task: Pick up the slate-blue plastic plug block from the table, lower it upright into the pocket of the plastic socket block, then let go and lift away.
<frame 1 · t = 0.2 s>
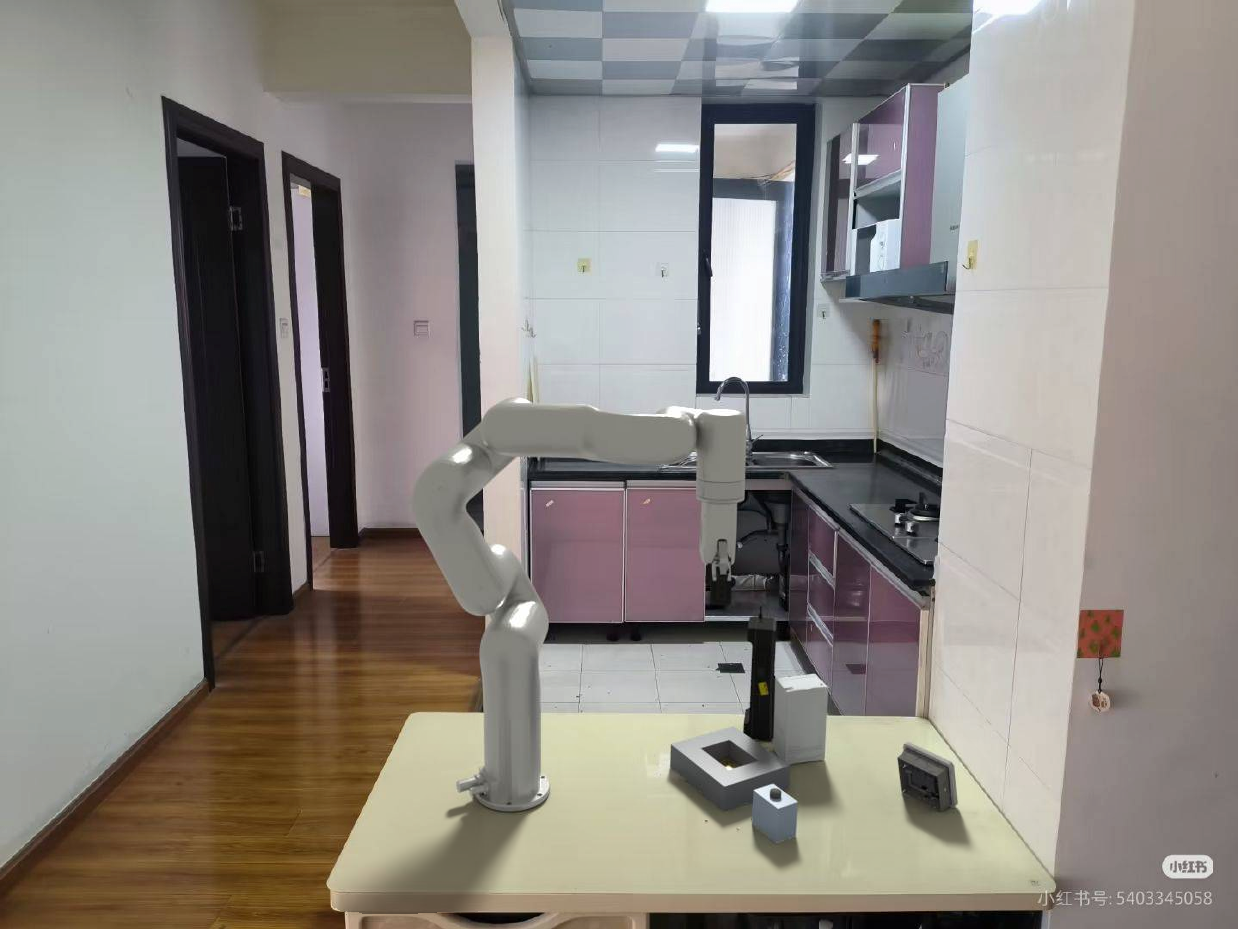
hand: (717, 594, 144), 37 cm above the table, tool pointing down, fingers open, 9 cm apart
portable radio: (759, 735, 175), on the table
socket block: (728, 778, 159), on the table
plug: (773, 830, 144), on the table
skincare box: (797, 757, 167), on the table
electrical switch: (925, 802, 153), on the table
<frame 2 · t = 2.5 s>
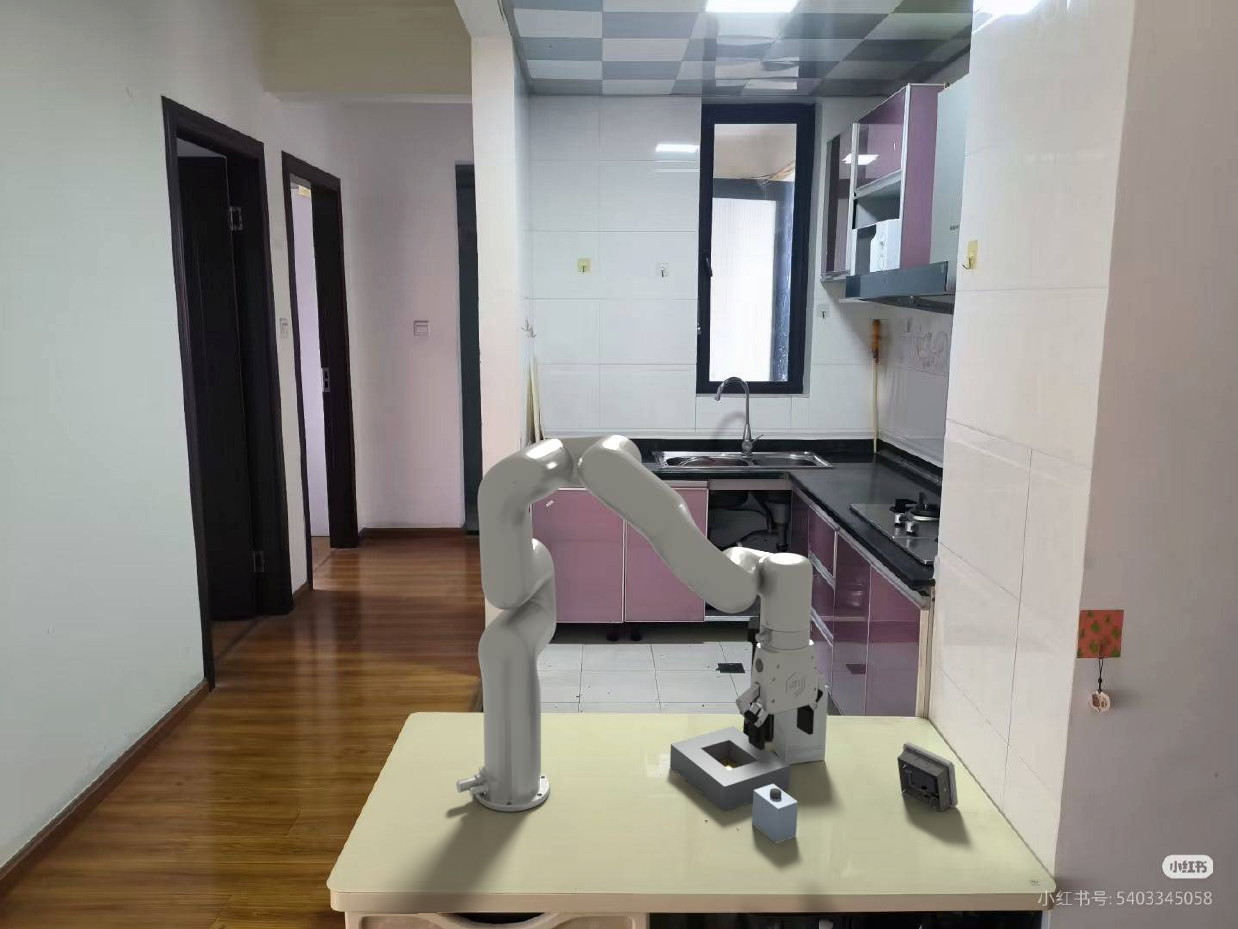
hand: (781, 738, 141), 16 cm above the table, tool pointing down, fingers open, 9 cm apart
nothing on the table moved.
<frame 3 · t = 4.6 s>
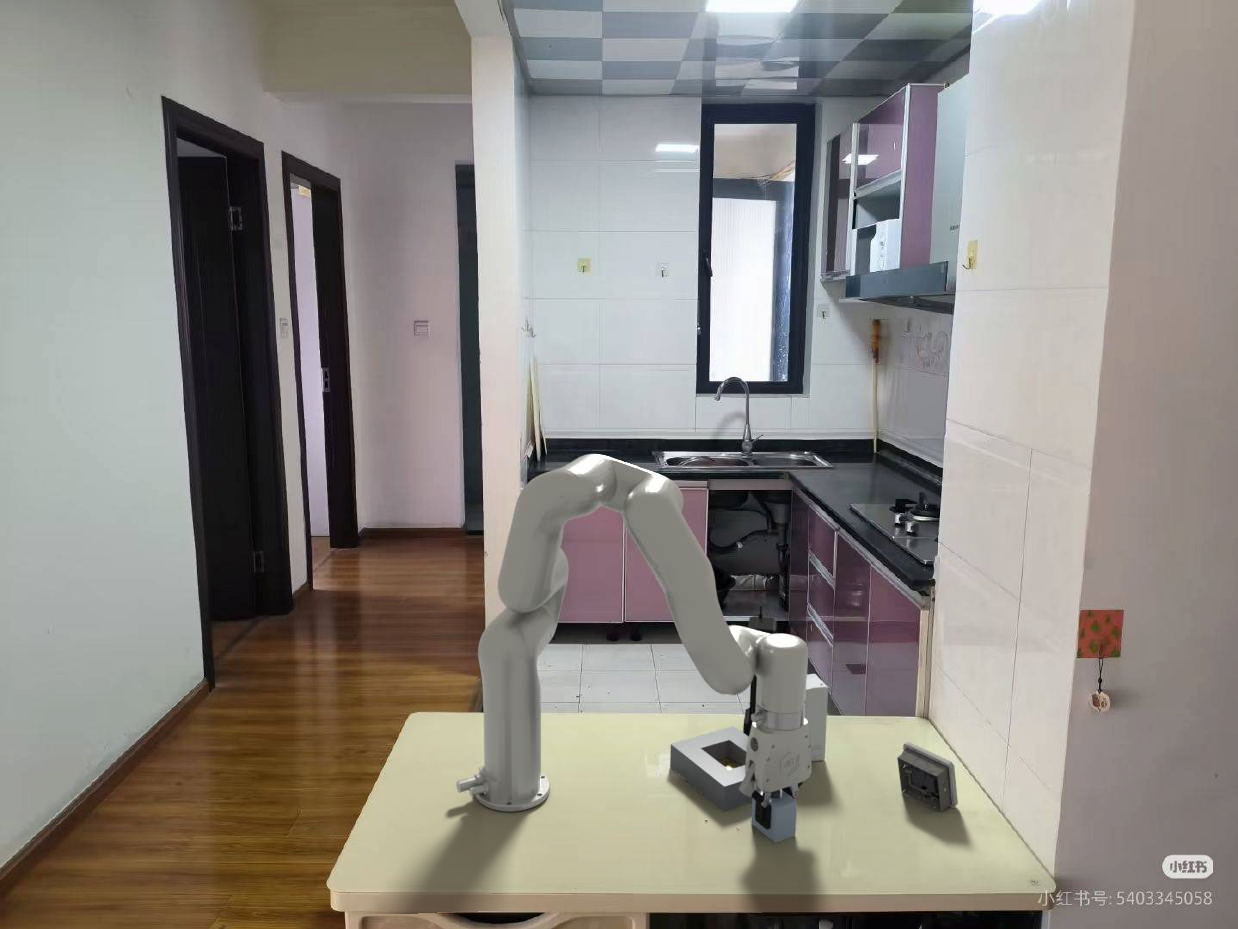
hand: (774, 819, 144), 2 cm above the table, tool pointing down, fingers closed on plug, 3 cm apart
plug: (773, 829, 144), on the table, touching gripper
everything else where it was.
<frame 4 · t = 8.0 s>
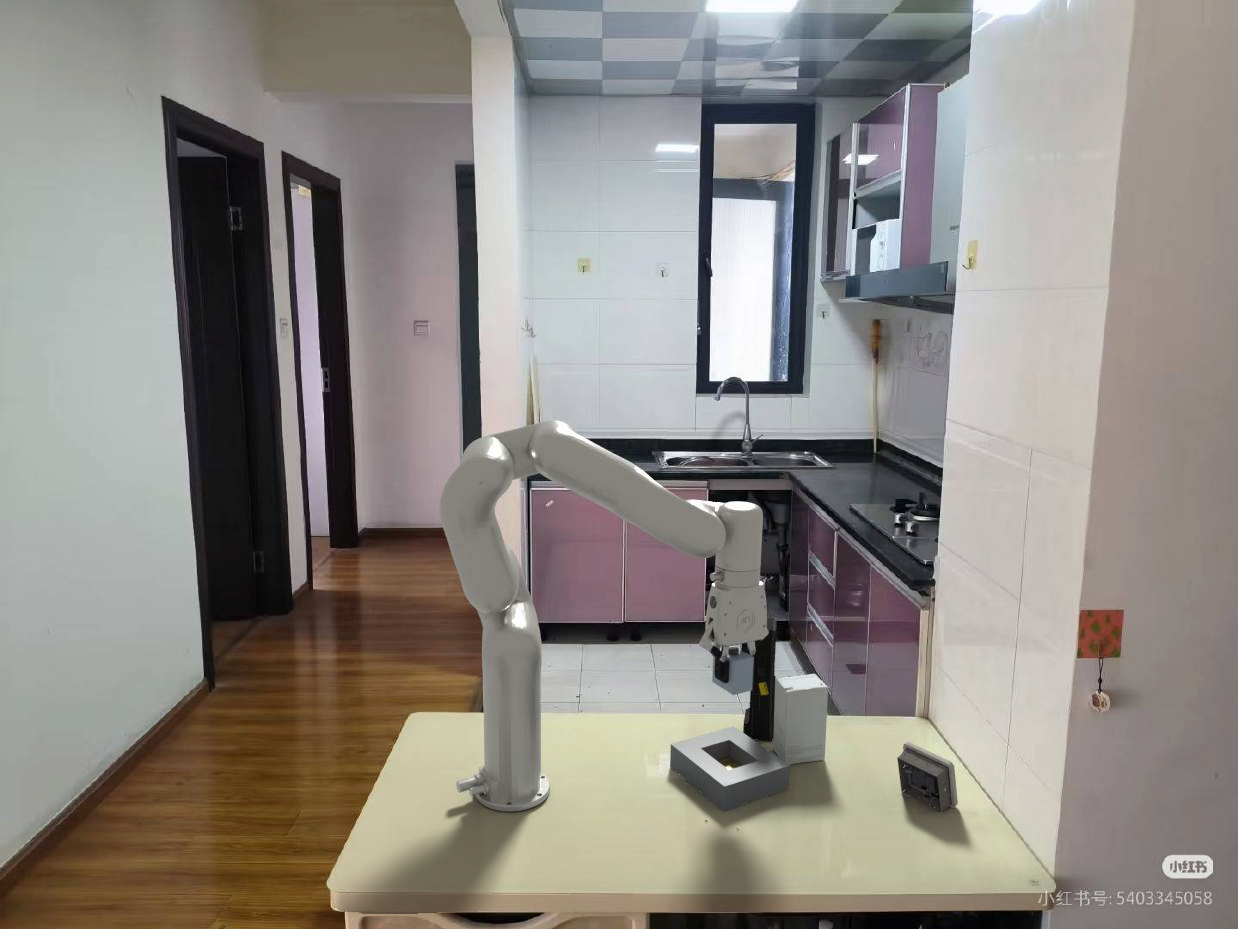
hand: (732, 676, 155), 19 cm above the table, tool pointing down, fingers closed on plug, 4 cm apart
plug: (731, 686, 155), point 17 cm above the table, touching gripper
everything else where it was.
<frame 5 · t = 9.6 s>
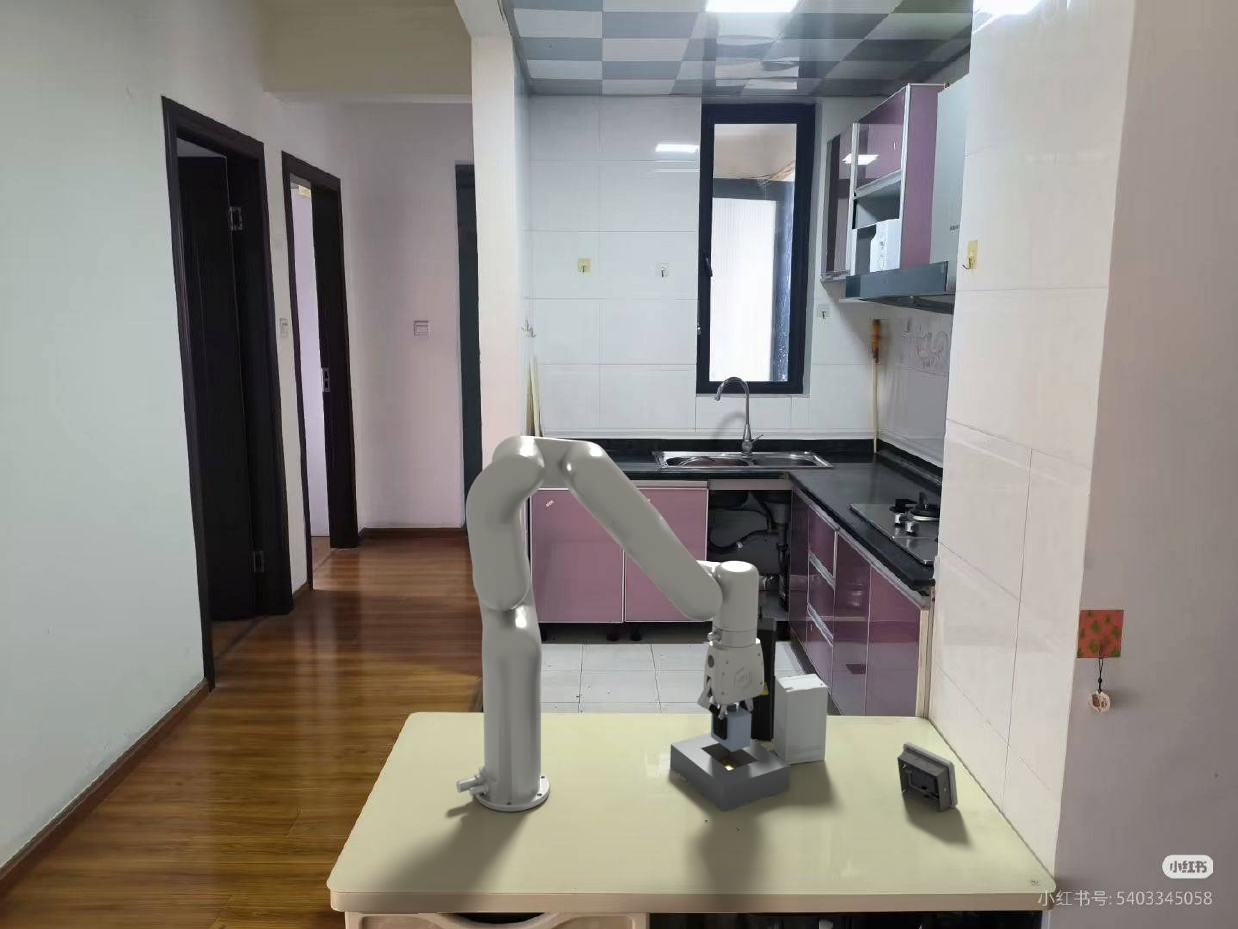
hand: (730, 732, 157), 9 cm above the table, tool pointing down, fingers closed on plug, 4 cm apart
plug: (730, 741, 158), point 7 cm above the table, touching gripper
everything else where it was.
when the fingers open (5 cm above the table, at t = 11.2 s): plug drops 2 cm, resting on socket block.
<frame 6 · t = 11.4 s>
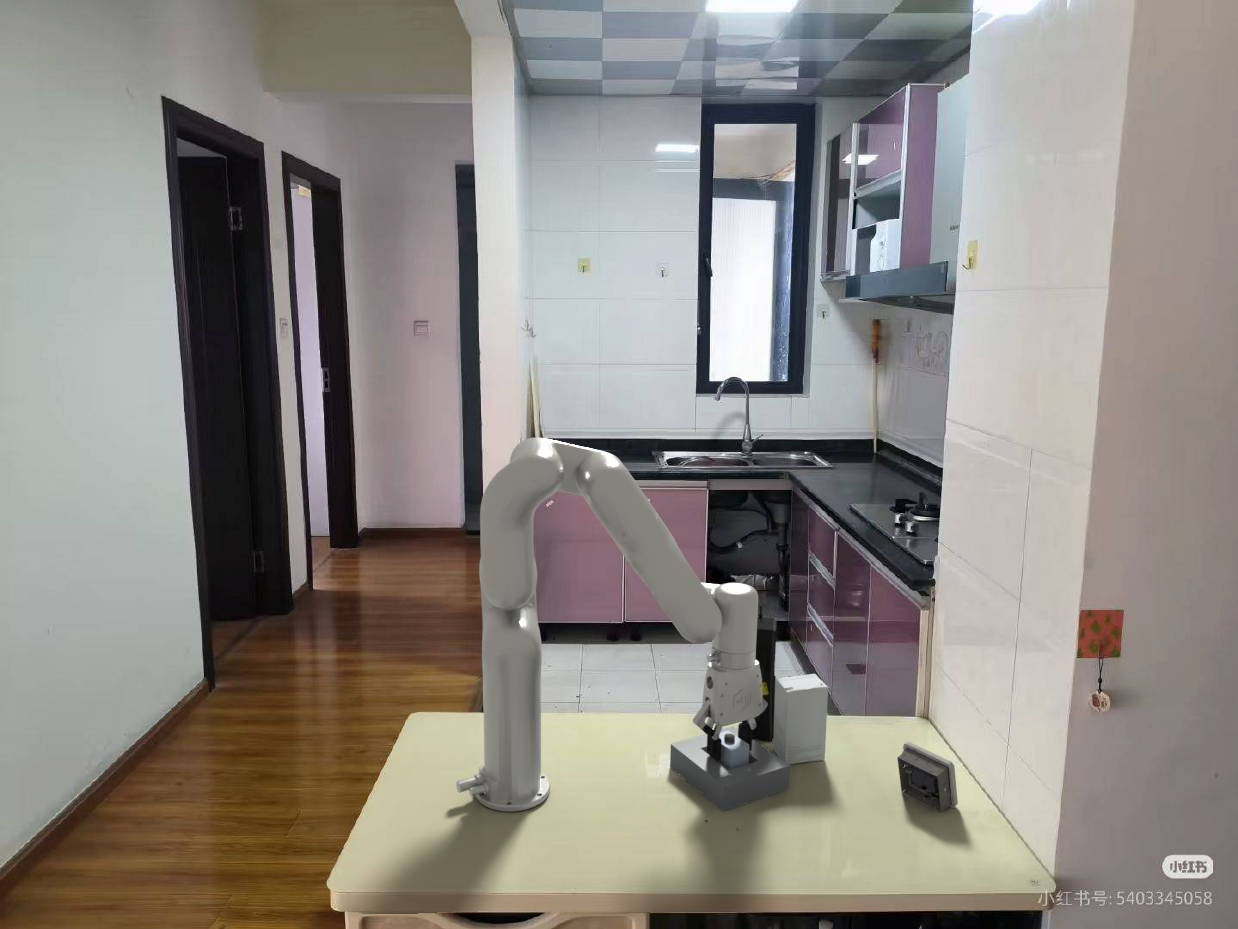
hand: (729, 751, 158), 5 cm above the table, tool pointing down, fingers open, 6 cm apart
plug: (728, 771, 159), point 1 cm above the table, touching socket block
everything else where it was.
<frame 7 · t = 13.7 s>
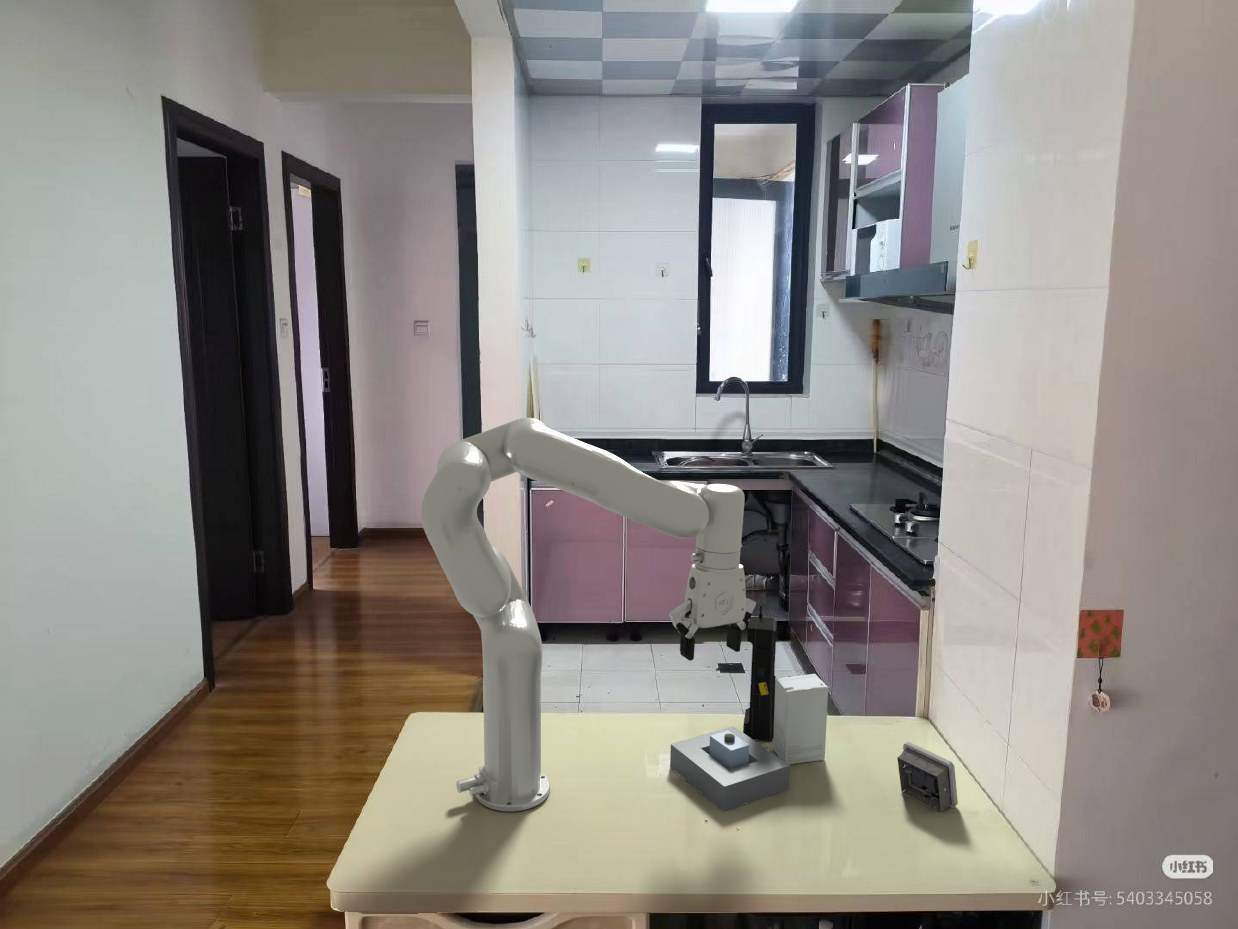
hand: (710, 653, 155), 23 cm above the table, tool pointing down, fingers open, 9 cm apart
nothing on the table moved.
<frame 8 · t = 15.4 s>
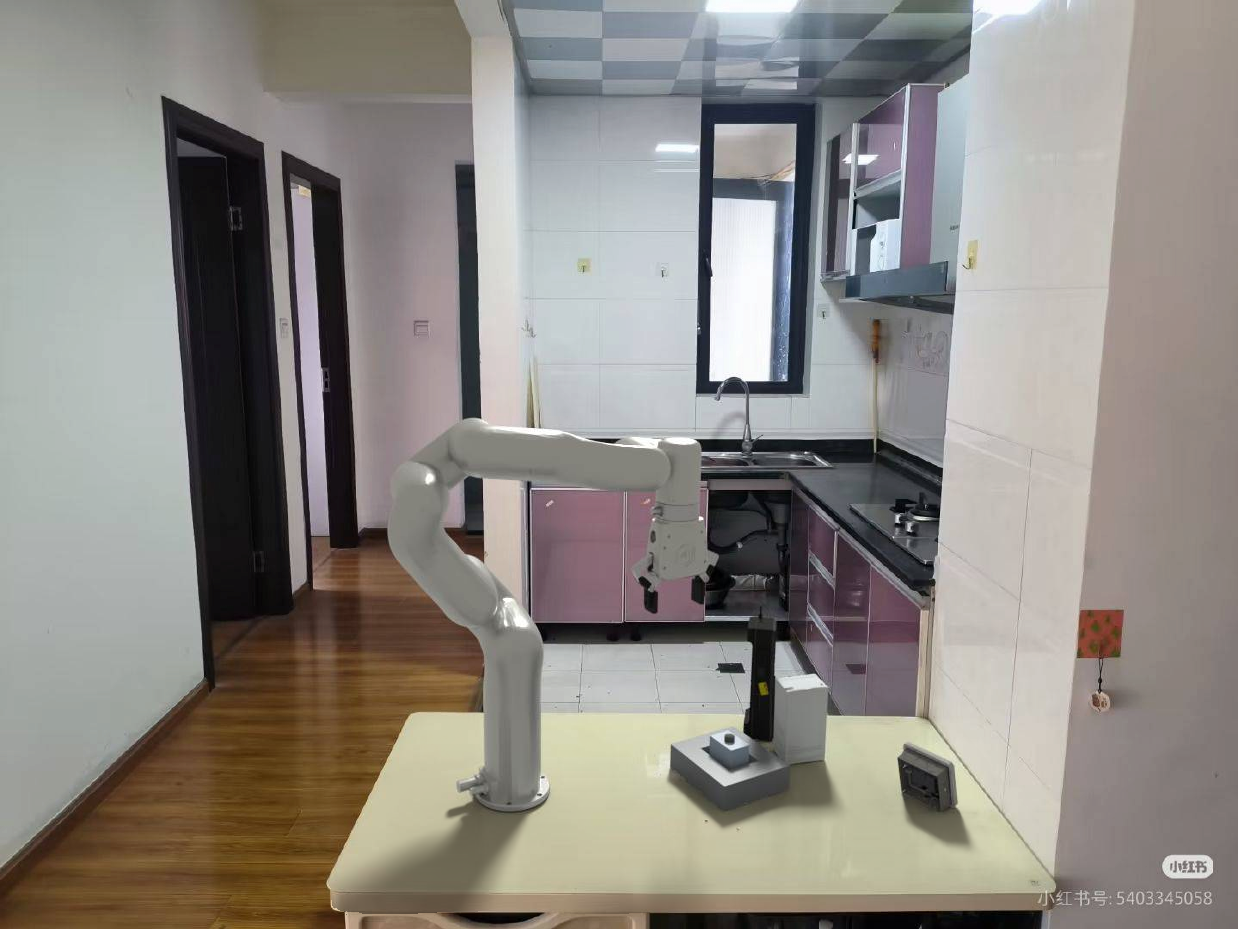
hand: (674, 606, 156), 30 cm above the table, tool pointing down, fingers open, 9 cm apart
nothing on the table moved.
at the end: plug 0.1 cm off-centre on the socket block, point 1.1 cm above the socket block's base; plug tilted 0°; the gripper is holding nothing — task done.
